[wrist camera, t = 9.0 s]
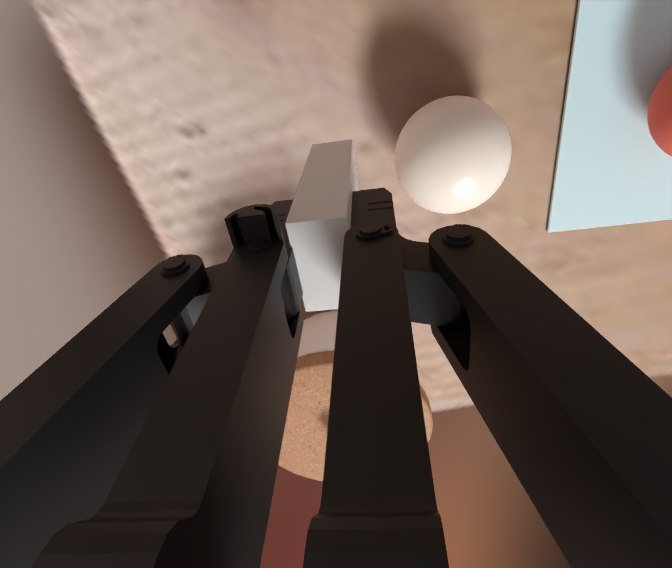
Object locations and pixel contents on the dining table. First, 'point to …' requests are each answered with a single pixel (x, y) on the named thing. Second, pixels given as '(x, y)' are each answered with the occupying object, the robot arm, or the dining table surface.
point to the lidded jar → (317, 399)
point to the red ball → (661, 113)
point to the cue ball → (452, 154)
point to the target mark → (613, 118)
